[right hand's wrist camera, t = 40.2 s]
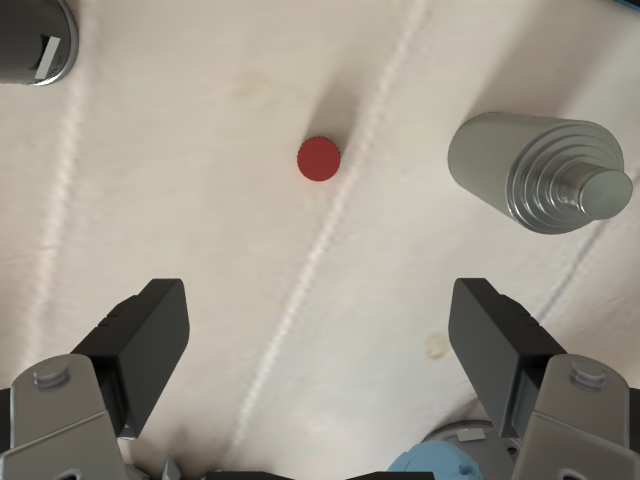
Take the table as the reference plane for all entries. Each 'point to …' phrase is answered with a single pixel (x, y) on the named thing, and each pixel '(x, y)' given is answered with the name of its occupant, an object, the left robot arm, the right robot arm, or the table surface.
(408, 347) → the table surface
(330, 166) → the cap
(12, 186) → the table surface
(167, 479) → the decorative piece
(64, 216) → the table surface
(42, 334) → the table surface
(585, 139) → the bottle
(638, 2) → the smartphone
